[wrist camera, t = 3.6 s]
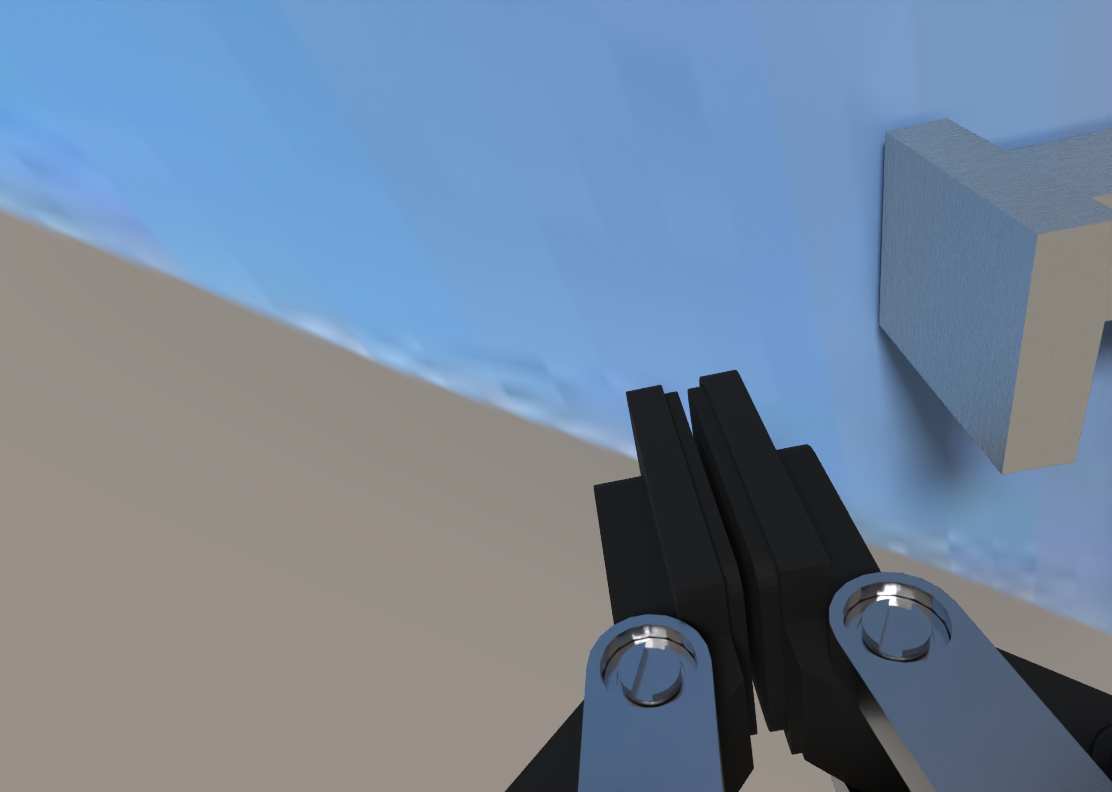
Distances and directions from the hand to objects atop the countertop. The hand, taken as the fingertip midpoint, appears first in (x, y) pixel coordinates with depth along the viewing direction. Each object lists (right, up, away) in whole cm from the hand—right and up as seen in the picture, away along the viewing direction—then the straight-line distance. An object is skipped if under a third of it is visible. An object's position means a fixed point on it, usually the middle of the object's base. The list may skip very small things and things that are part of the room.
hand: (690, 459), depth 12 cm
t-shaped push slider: (+9, +5, +4) cm, 11 cm away
